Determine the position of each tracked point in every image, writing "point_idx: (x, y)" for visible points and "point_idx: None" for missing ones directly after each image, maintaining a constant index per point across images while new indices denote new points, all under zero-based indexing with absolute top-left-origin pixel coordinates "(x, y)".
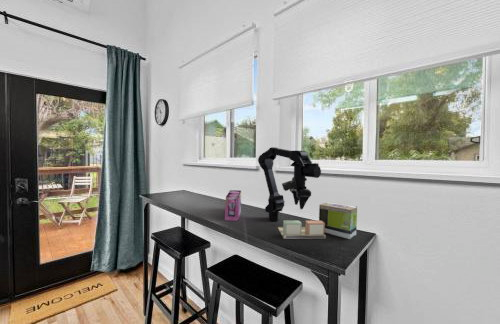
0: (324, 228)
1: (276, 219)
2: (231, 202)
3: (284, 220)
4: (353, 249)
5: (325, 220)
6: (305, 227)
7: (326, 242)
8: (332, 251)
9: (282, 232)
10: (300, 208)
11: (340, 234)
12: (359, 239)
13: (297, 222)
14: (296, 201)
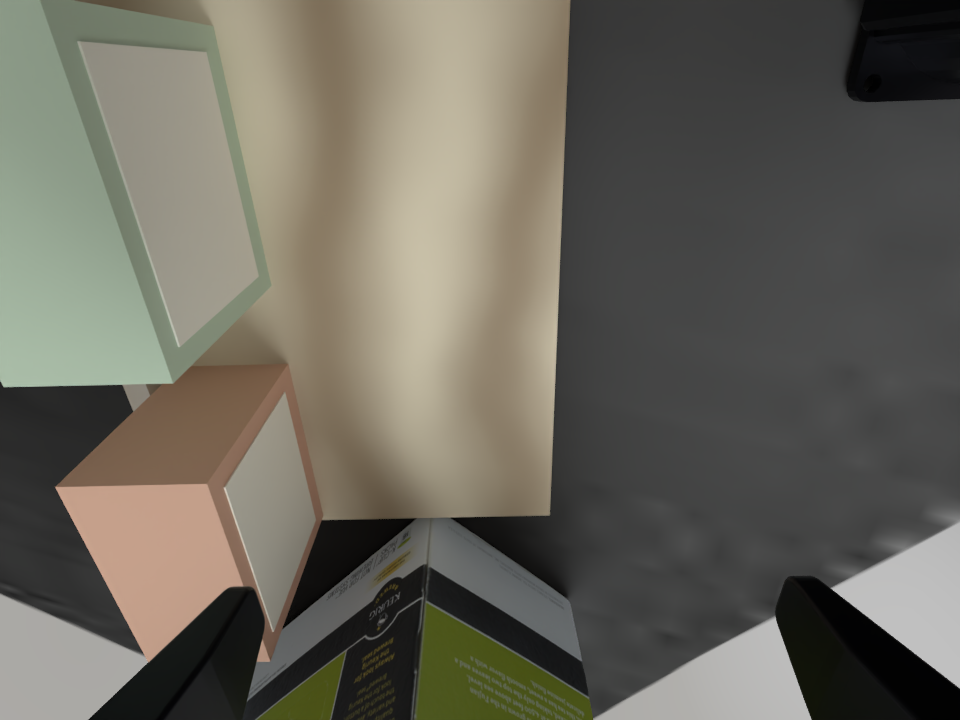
0: (379, 593)
1: (910, 3)
2: None
3: (48, 30)
4: (122, 621)
5: (352, 692)
6: (249, 413)
7: None
8: (12, 484)
9: (289, 31)
10: (214, 603)
11: (283, 653)
12: None
13: (21, 322)
14: (838, 695)
